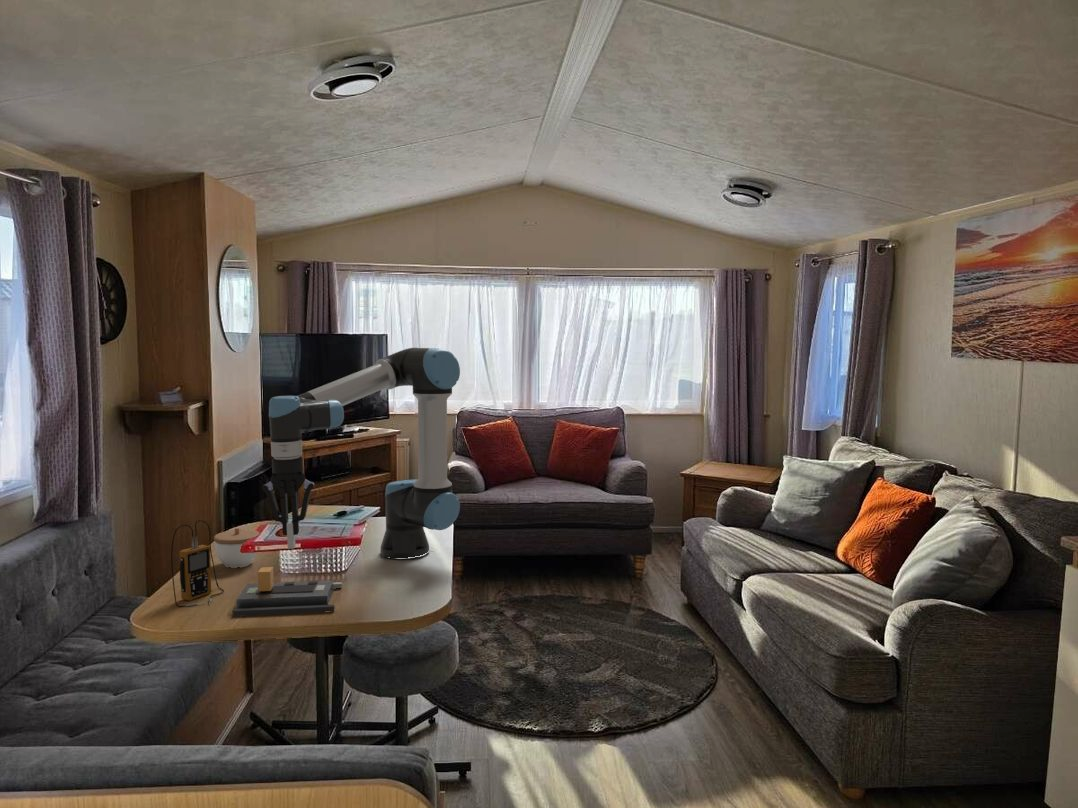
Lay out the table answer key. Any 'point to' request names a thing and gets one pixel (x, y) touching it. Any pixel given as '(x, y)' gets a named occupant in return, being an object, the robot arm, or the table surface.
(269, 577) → the orange rectangular block
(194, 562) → the multimeter
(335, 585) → the light grey rod
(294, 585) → the grey control panel
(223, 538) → the lidded bowl
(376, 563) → the table surface
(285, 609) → the dark grey bar
